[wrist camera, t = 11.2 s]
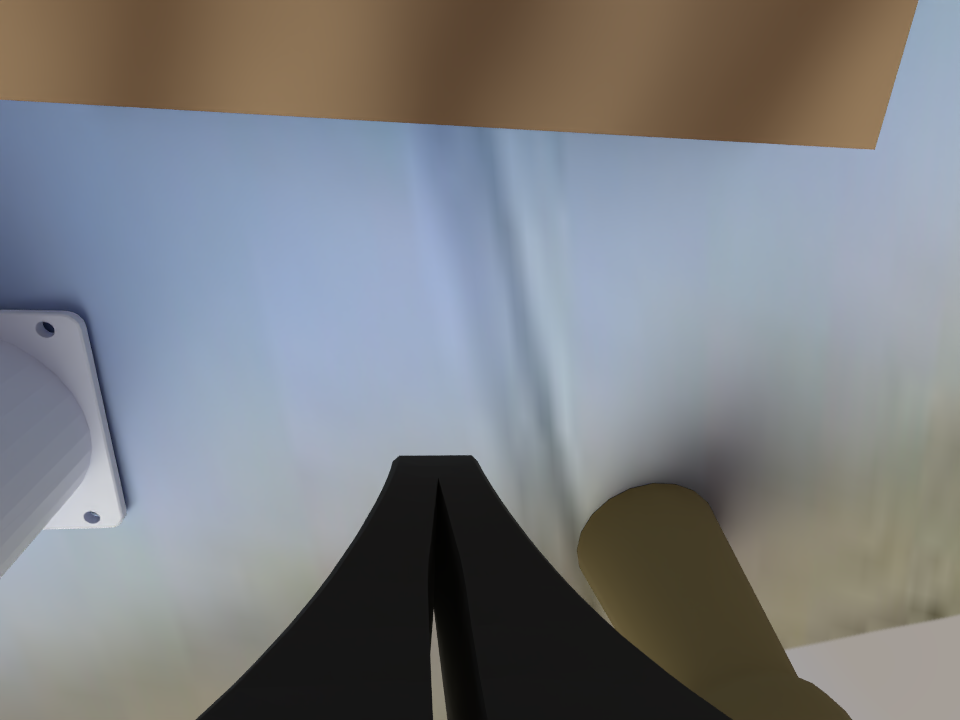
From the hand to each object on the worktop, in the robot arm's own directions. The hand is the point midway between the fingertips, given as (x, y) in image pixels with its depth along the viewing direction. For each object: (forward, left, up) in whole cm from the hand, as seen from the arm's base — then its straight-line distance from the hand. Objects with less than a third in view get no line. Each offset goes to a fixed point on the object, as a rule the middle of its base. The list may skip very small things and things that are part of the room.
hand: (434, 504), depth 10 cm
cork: (+10, -10, -11) cm, 18 cm away
